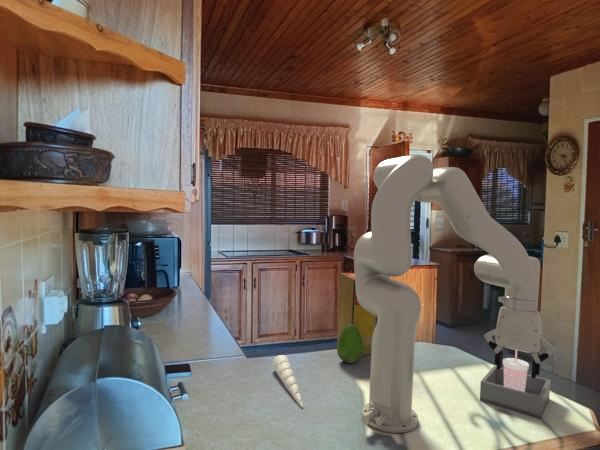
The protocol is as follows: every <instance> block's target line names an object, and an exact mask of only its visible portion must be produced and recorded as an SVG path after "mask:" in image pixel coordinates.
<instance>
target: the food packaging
mask: <svg viewBox="0 0 600 450" xmlns="http://www.w3.org/2000/svg"><path fill="white" fill-rule="evenodd" d="M339 276H340V277H339V299H338V300H339V301H338V314H337V315H338V318H337V322H338V323H337V337H336V343H337V342H338V339H339V337H340V335H341V333H342V331H343V329H344V328H345V326H346V325H348V324H352V325H354V326H356V327H357V328H358V330H359V333H360V336H361V339H362V344H363V350H362V353H361V356H369V355H370V356H371V345H372V336H373V332H374V329H375V327H376V324H377V317H376V316H374V315H373V314H371V313H369V312H367V311H366V310H364V309H363V308H362V307H361V305H360V304H359V302H358V299H357V294H356V284H355V272H340V274H339Z"/></svg>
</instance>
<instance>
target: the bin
mask: <svg viewBox="0 0 600 450" xmlns="http://www.w3.org/2000/svg"><path fill="white" fill-rule="evenodd" d="M550 390H551V379H547V378H543V377H540V376H536V377H535V379H534V378H532V374H528V373H527V378H526V386H525V392H523V391H519V390H515V389H512V388H508V387H505V386H504V367H501V368H500V369H497V365H494V366H493V367H492V368H490V370H489V371H488V372H487V373H486V375H485V376H484V377H483V378H482V379H481V380H480V390H479V401H480V402H483V403H484V402H485V403H487V404H491V405H494V406H497V407H501V408H502V409H503V408H504V409H507V410H510V411H513V412H515V413H516V412H517V413H519V414H522V415H526V416H529V417H533V418H536V419H539V420H542V418H543V414H544V412H545V410H546V407H547V405H548V403H549V400H550V394H551V392H550Z"/></svg>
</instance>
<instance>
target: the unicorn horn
mask: <svg viewBox="0 0 600 450" xmlns="http://www.w3.org/2000/svg"><path fill="white" fill-rule="evenodd" d="M272 367H273V370H274V371H275V372H276V374H277V375H278V377H279V378H280V380H281V381H282V382H281V383H283V385H284V386H285V388H286V390H287V391H288V393H290V396H291V397H292V398H293V399H294V401H295V402H296V403H297V405H298V406H299V407H300V408H301V409H303V408H304V403H303V398H302V395H301V392H300V389H299V386H298V384H297V383H298V382H297V380H296V377H295V374H294V372H293V369H292V366H291V364H290V361H289V358H288V357H287V356H286V355H283V354H281V355H280V354H279V355H277V356H275V357H274V358H273V360H272Z"/></svg>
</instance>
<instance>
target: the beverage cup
mask: <svg viewBox="0 0 600 450" xmlns="http://www.w3.org/2000/svg"><path fill="white" fill-rule="evenodd" d="M514 351H515V352H514V353H515V354H514V357H506V358H504V357H503V363H502V366H503V368H504V386H505V387H508V388H512V389H515V390H519V391H523V392H525V386H526V378H527V374H528V370H529V369H530V368H529V367H530V363H528V362H527V361H525V360H522V359H519V358H518V350H514Z"/></svg>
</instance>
